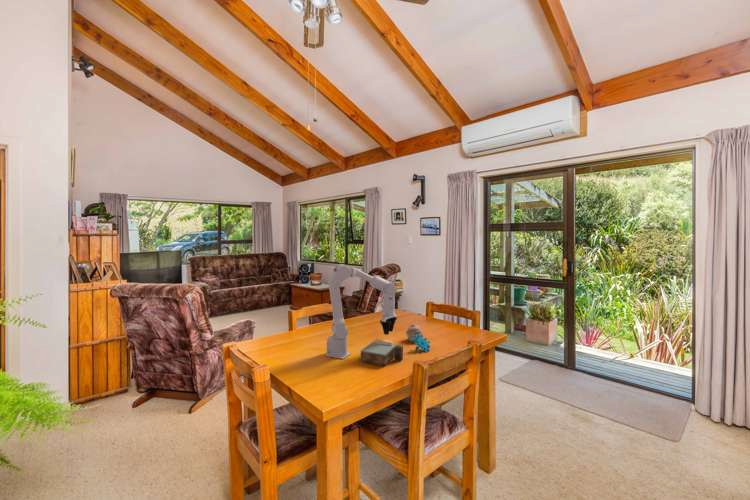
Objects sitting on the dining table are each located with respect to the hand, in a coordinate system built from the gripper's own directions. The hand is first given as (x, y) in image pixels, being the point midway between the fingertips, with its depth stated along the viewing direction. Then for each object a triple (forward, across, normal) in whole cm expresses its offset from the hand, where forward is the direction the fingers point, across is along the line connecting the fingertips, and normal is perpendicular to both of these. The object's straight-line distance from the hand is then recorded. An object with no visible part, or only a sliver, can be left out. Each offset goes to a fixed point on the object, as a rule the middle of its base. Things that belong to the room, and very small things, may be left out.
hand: (388, 332), depth 177 cm
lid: (+5, -12, 0) cm, 13 cm away
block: (+9, -9, -9) cm, 16 cm away
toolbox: (+9, -12, 0) cm, 15 cm away
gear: (+10, +10, -15) cm, 21 cm away
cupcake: (+10, +22, -7) cm, 25 cm away
